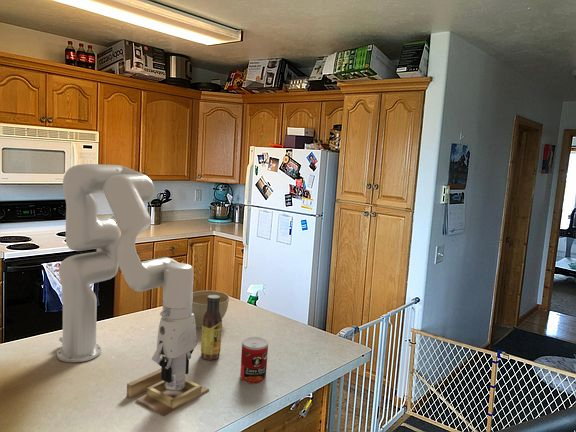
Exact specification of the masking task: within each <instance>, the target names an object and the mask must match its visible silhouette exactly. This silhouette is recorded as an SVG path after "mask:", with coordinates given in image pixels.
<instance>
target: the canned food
mask: <svg viewBox="0 0 576 432" xmlns="http://www.w3.org/2000/svg"><path fill="white" fill-rule="evenodd" d="M241 342H242V343H241V354H240V355H241V356H240V357H241V358H240V378H241V380H242V381H243V382H244V383H248V384H253V385H254V384H260V383H262V382H264V381H265V379H266V377H267V370H268V369H267V367H268V366H267V364H268V354H269V353H268V351H269V342H268V340H267V339H266V338H262V337H259V336H250V337H246V338H244V339H242V341H241Z"/></svg>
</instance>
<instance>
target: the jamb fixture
mask: <svg viewBox="0 0 576 432" xmlns="http://www.w3.org/2000/svg"><path fill="white" fill-rule="evenodd" d="M164 384H165V381H163V380H162V379H161V368H160V369H157V370H154V371H152V372H151V373H148V374H145V375H144V376H141V377H139V378H137V379H135V380H132V381H130V382H128V383H126V397H127V398H130V399H132V398H134V397H136V396H138V395H141V394H142V393H144V392H146V394H143V395H142V396H139V397H138V398H135V402H136V403H139V404H140V405H142V406H144V407H145V408H148V409H149V410H152V411H153V412H155V413H157V414H159V415H161V416H163V417H165V416H167V415H168V414H170V413H172V412H174V411H175V410H178V409H179V408H181V407H182V406H185V405H186V404H188V403H189V402H191V401H193V400H195V399H197V398H199V397H201V396H202V395H204V394H206V393H208V392H209V391H210V389H209V388H208V387H207V386H204V385H202V384H200V383H197V382H195V381H193V380H191V379H189V378H187V377H185V387H184V388H183V389H181V390H179V391H169V390H167V389H166V388H165V386H164Z"/></svg>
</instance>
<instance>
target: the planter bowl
mask: <svg viewBox="0 0 576 432" xmlns="http://www.w3.org/2000/svg"><path fill="white" fill-rule="evenodd" d="M209 295H218V296H220V301H219V311H220V315H221V318H222V319H223V318H224V317H225V315H226V314H227V311H228V307H229V301H230V296H229V295H228V294H227V293H225V292H221V291H218V290H198V291H193V299H192V313H193V314H194V317H195V323H196V328H199V329H202V324H203V316H204V314H205V313H206V311H207V305H208V301H207V296H209Z"/></svg>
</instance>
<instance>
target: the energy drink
mask: <svg viewBox="0 0 576 432" xmlns="http://www.w3.org/2000/svg"><path fill="white" fill-rule="evenodd" d="M165 362H167V358H166V359H165ZM170 368H172V376H171V382H170V383H167V382H165V384H164V386H165V388H166V389H167V390H169V391H179V390H181V389H183V388H184V387H185V378H186V375H187V374H186V353H185V354H182V355H180V356H178V357H176V358H173V359H172V361H171V365H170Z"/></svg>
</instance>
